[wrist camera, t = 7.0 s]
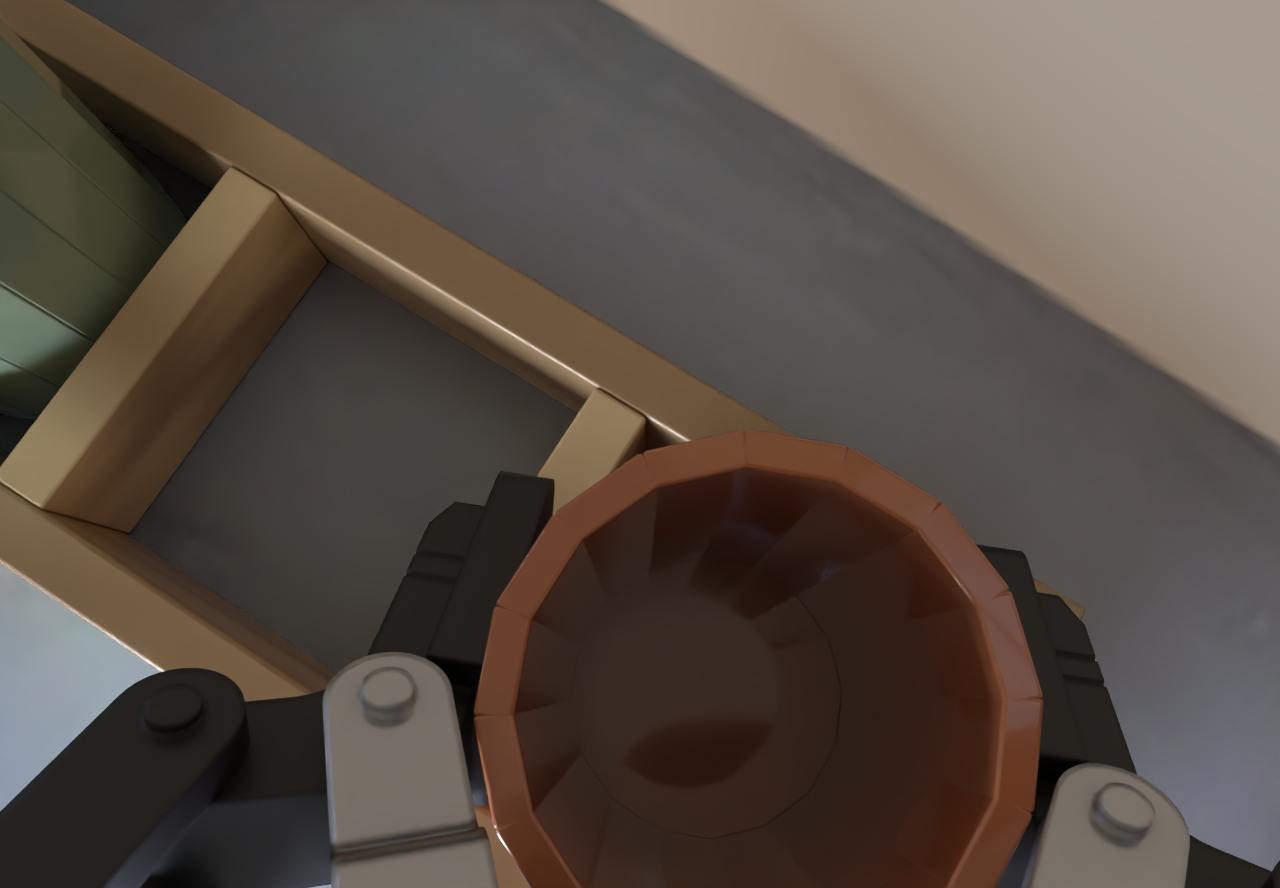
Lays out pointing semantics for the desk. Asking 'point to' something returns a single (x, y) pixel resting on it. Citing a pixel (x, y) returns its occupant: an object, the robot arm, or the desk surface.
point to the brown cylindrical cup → (757, 682)
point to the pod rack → (241, 329)
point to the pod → (64, 229)
